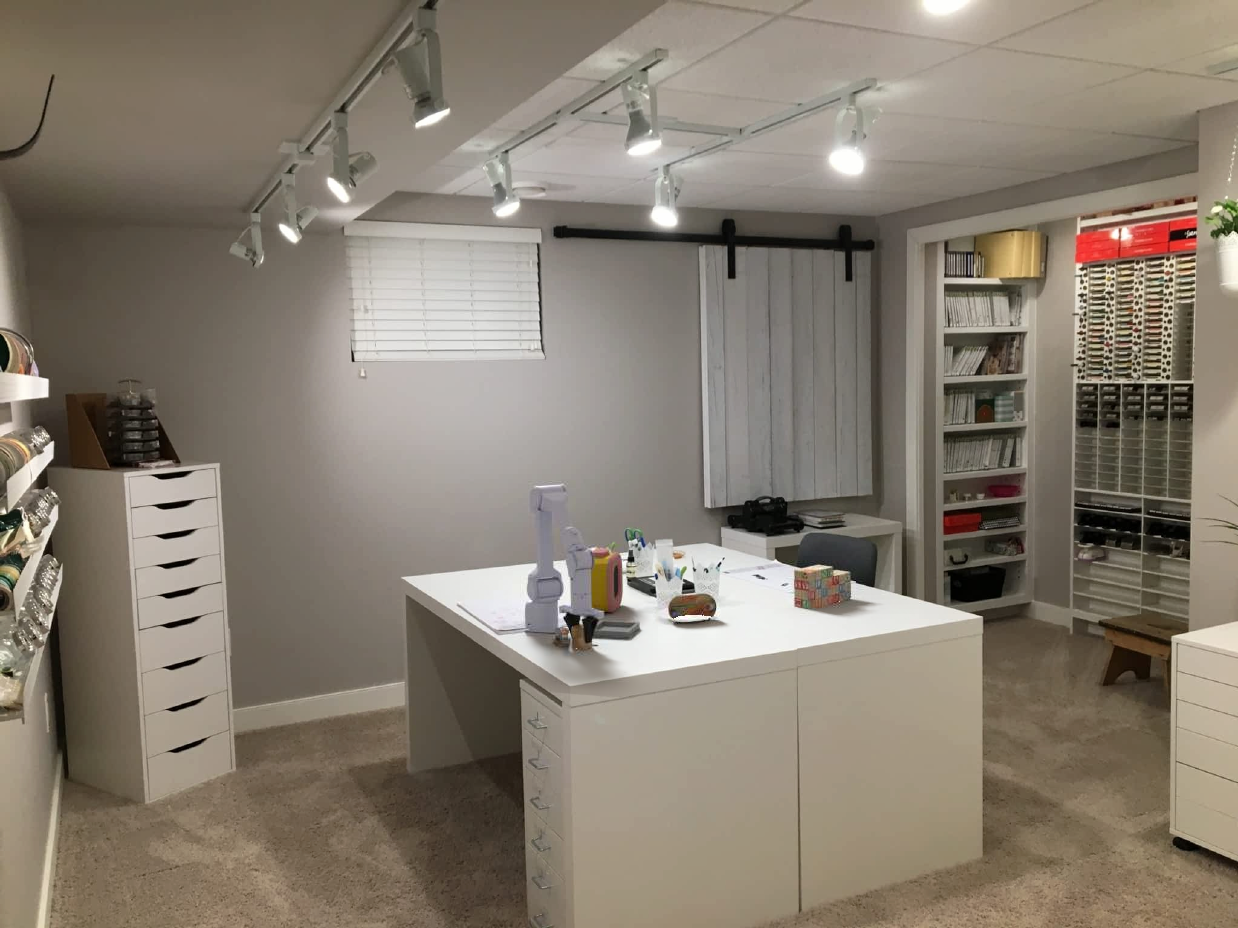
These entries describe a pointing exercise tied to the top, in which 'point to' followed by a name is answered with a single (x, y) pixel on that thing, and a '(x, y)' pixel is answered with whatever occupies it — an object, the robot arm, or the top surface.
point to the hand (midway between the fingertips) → (581, 641)
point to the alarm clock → (606, 580)
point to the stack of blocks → (820, 586)
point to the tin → (692, 605)
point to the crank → (562, 635)
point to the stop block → (579, 637)
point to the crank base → (558, 642)
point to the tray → (616, 629)
